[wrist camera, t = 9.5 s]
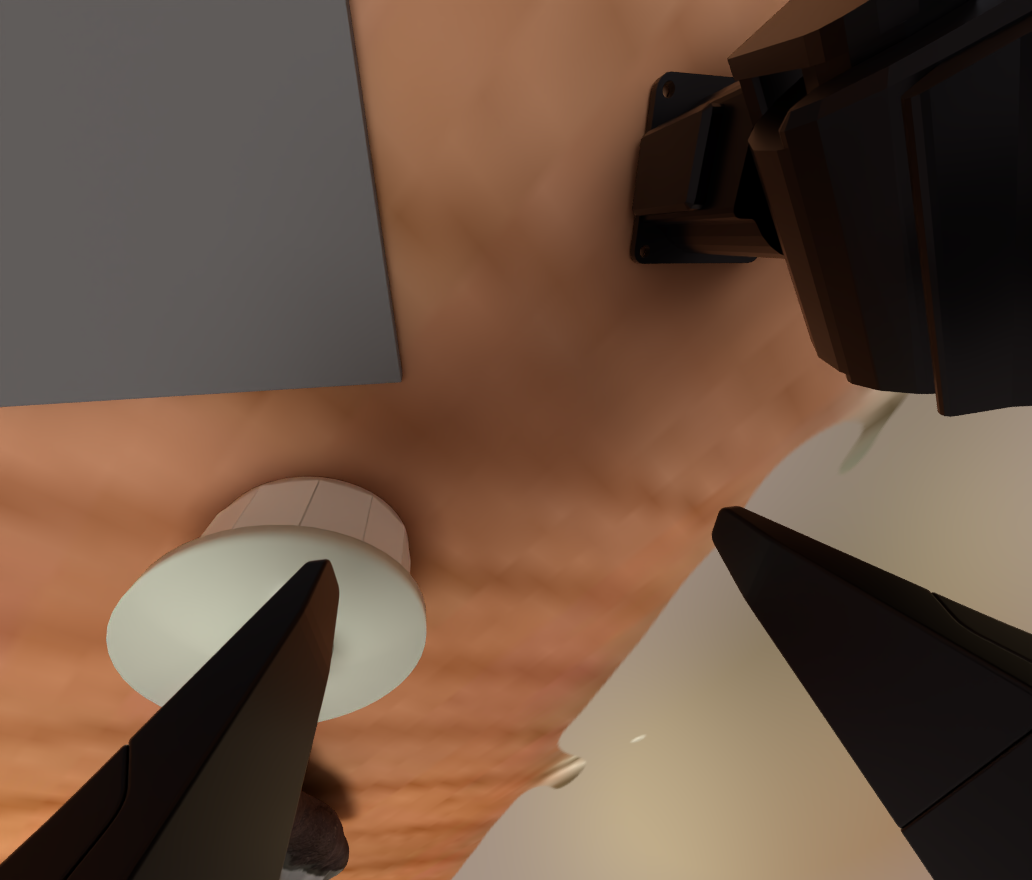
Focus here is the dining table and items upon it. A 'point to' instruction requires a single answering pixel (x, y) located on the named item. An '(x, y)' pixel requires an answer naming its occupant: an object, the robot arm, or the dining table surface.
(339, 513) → the bowl
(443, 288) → the dining table surface
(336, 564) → the lid
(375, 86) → the dining table surface
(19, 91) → the mat
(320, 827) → the rock
